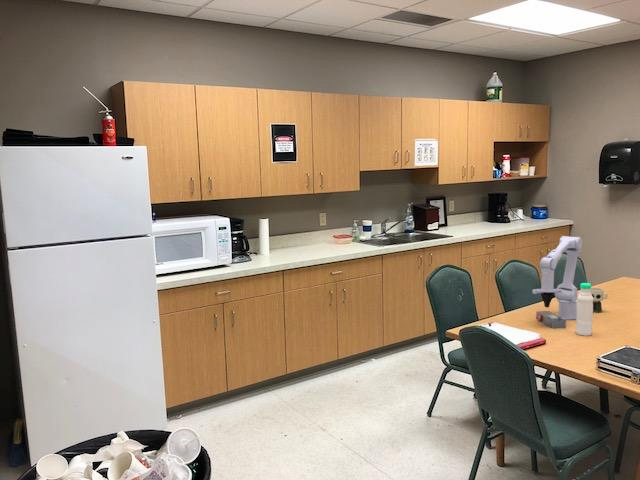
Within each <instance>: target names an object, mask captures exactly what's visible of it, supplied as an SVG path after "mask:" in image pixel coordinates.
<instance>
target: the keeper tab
mask: <svg viewBox="0 0 640 480" xmlns="http://www.w3.org/2000/svg"><path fill="white" fill-rule="evenodd" d="M547 317H549V318H550V319H558V317H557V316H555V315H547Z"/></svg>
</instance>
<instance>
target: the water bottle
mask: <svg viewBox="0 0 640 480" xmlns="http://www.w3.org/2000/svg"><path fill="white" fill-rule="evenodd" d="M579 288H580V292H579V293H578V297H577V300H576V302H577V319H575V320H576V321H575V325H576V326H575V333H576V334H577V335H579V336H583V337H584V336H585V337H586V336H587V337H588V336H591V335H592V334H593V314H594V312H593V296H592V294H591V292H590V290H591V288H592V284H591V283H589V282H582V283H580V286H579Z"/></svg>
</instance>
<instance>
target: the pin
mask: <svg viewBox="0 0 640 480" xmlns="http://www.w3.org/2000/svg"><path fill="white" fill-rule="evenodd" d="M559 317H560V316H559ZM536 320H537V321H538V322H541V320H542V316H541V315H538V316H537V319H536Z"/></svg>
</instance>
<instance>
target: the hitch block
mask: <svg viewBox="0 0 640 480" xmlns="http://www.w3.org/2000/svg"><path fill="white" fill-rule="evenodd" d="M538 315H541V316H542V320H541V321H540V323H542V324H544V325H545V326H547V327H549V328H550V329H566V328H567V327H566V324H567V323H566V322H567V321H566V320H567V319H565V320H564V319H562V318H561V317H559V316H557V315H558V314H555V313H554V312H552V311H550V310H543V311H542V310H540V311H537V310H536V313H535V316H536V317H535V319H536V320H538V319H537V316H538ZM547 315H555V316H557V317H558V319H550V318H549V317H547Z"/></svg>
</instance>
